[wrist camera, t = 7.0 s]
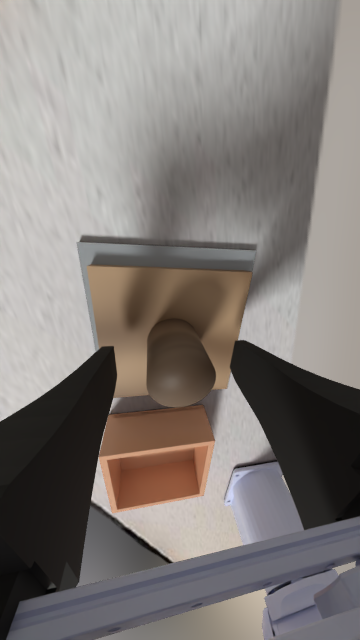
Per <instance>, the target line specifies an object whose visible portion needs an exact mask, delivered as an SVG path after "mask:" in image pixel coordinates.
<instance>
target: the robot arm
mask: <svg viewBox="0 0 360 640" xmlns="http://www.w3.org/2000/svg"><path fill="white" fill-rule="evenodd" d="M230 369H231V372H232V374H233V377H234V379H235V381H236V383H237V385H238V386H239V388H240V390H241V392H242V393H243V395H244V397H245V398H246V400H247V402H248V403H249V405H250V407H251V408H252V410H253V412H254V413H255V415H256V417H257V418H258V420H259V422H260V424H261V426H262V428H263V430H264V432H265V435H266V437H267V439H268V441H269V443H270V445H271V448H272V450H273V452H274V454H275V456H276V459H277V462H272V463H266V464H260V465H254V466H248V467H242V468H237V469H235V470H234V471H233V474H232V477H231V480H230V484H229V487H228V490H227V493H226V497H225V500H224V505H225V506H230V505H231V507H232V511H233V514H234V517H235V520H236V524H237V527H238V530H239V533H240V537H241V540H242V543H243V546H239V547H235V548H231V549H227V550H223V551H219V552H215V553H211V554H207V555H203V556H199V557H195V558H191V559H187V560H183V561H179V562H175V563H171V564H167V565H164V566H159V567H155V568H152V569H147V570H144V571H139V572H136V573H131V574H127V575H124V576H119V577H115V578H112V579H107V580H104V581H99V582H95V583H91V584H87V585H83V586H79V587H76V586H77V584H78V582H79V578H80V570H81V563H82V555H83V549H84V542H85V535H86V528H87V521H88V515H89V509H90V503H91V496H92V490H93V484H94V479H95V473H96V467H97V461H98V456H99V451H100V445H101V441H102V436H103V432H104V429H105V425H106V422H107V418H108V415H109V411H110V408H111V404H112V400H113V397H114V393H115V388H116V381H117V368H116V360H115V352H114V346H102V347H101V348H100V349H99V350H98V351H97V352H95V353H94V354H93V355H92V356H91V357H90V358H89V359H88V360H87V361H86V362H85V363H83V364H82V365H81V366H80V367H79V368H78V369H77V370H75V371H74V372H73V373H72V374H70V375H69V376H68V377H67V378H65V379H64V380H63V381H62V382H61V383H59V384H58V385H57V386H55V387H54V388H52V389H51V390H50V391H48V392H47V393H45V394H44V395H42V396H41V397H40V398H38V399H37V400H35V401H33V402H32V403H30V404H29V405H27V406H25V407H24V408H22V409H20V410H19V411H17V412H16V413H14V414H12V415H11V416H9V417H7V418H6V419H4V420H2V421H1V422H0V640H95V639H98V638H101V637H104V636H108V635H111V634H114V633H118V632H121V631H124V630H127V629H131V628H135V627H138V626H141V625H145V624H148V623H151V622H154V621H158V620H161V619H164V618H168V617H171V616H174V615H178V614H181V613H184V612H188V611H191V610H194V609H198V608H201V607H204V606H208V605H211V604H214V603H218V602H221V601H224V600H228V599H231V598H234V597H238V596H241V595H244V594H247V593H251V592H254V591H258V590H261V589H265V591H266V593H267V596H266V597H265V598H264V599H265V602H266V605H267V608H264V610H263V621H262V629H263V635H264V640H360V390H359V389H356V388H353V387H350V386H347V385H343V384H341V383H338V382H335V381H332V380H329V379H326V378H324V377H321V376H318V375H316V374H313V373H311V372H309V371H306V370H303V369H301V368H299V367H297V366H295V365H293V364H291V363H289V362H286V361H284V360H282V359H280V358H278V357H276V356H275V355H273V354H271V353H269V352H267V351H265V350H263V349H261V348H259V347H257V346H255V345H254V344H252V343H249V342H247V341H245V340H238V341H235V343H234V348H233V353H232V358H231V363H230ZM282 475H284V478H285V480H286V483H287V485H288V488H289V490H290V492H289V490H288V488H287V487H286V485H285V483H284V481H283V479H282V478H281V477H282ZM290 493H291V494H290ZM354 561H356V567H355V568H352V569H350V570H348V571H346V572H343V573H341V574H340V575H339V576H338V574H337V572H336V570H335V569H332V568H334V567H338V566H341V565H344V564H348V563H351V562H354Z"/></svg>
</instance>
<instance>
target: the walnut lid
mask: <svg viewBox="0 0 360 640" xmlns="http://www.w3.org/2000/svg"><path fill="white" fill-rule="evenodd" d="M87 272H88V279H89V285H90V292H91V299H92V305H93V312H94V318H95V325H96V332H97V338H98V345H99V349H100V348H101V347H102V346H114V352H115V360H116V368H117V381H116V388H115V393H114V397H113V398H119V397H131V396H143V395H150V396H151V398H152V399H153V400H154V401H156V402H157V403H159V404H161V405H164V406H167V407H185V406H189V405H192V404H194V403H197V402H198V401H200V400H202V399H203V398H204V397H206V396H207V395H208V394H209V392H210V391H211V390H216V389H227V385H228V381H229V376H230V372H231V369H230V363H231V358H232V353H233V348H234V343H235V341H238V336H239V332H240V327H241V323H242V318H243V314H244V309H245V305H246V300H247V296H248V291H249V287H250V282H251V278H252V273H253V272H250V271H247V270H223V269H197V268H172V267H147V266H122V265H96V264H90V265H88V266H87Z"/></svg>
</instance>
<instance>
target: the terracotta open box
mask: <svg viewBox="0 0 360 640" xmlns="http://www.w3.org/2000/svg"><path fill="white" fill-rule="evenodd" d="M214 443H215V439H214V436H213V433H212V430H211V427H210V424H209V421H208V418H207V415H206V412H205V409H204V406H203V405H197V406H187V407H178V408H168V409H159V410H149V411H139V412H130V413H120V414H111V415H108V420H107V424H106V428H105V433H104V437H103V441H102V446H101V450H100V454H99V460H100V464H101V468H102V473H103V477H104V481H105V485H106V489H107V494H108V498H109V502H110V506H111V510H112V513H116V512H122V511H127V510H132V509H137V508H142V507H147V506H153V505H158V504H163V503H168V502H173V501H179V500H184V499H189V498H194V497H199V496H204V492H205V487H206V482H207V477H208V472H209V467H210V463H211V458H212V453H213V448H214Z"/></svg>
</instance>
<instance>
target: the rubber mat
mask: <svg viewBox="0 0 360 640" xmlns="http://www.w3.org/2000/svg"><path fill="white" fill-rule="evenodd" d="M77 248H78V253H79V259H80V265H81V270H82V276H83V282H84V287H85V293H86V299H87V304H88V310H89V316H90V321H91V327H92V333H93V338H94V344H95V350H96V352H97V351H98V350H99V345H98V338H97V332H96V325H95V318H94V312H93V305H92V299H91V292H90V285H89V279H88V272H87V266H88V265H90V264H96V265H122V266H147V267H172V268H197V269H223V270H247V271H250V272H252V269H253V265H254V260H255V255H256V251H255V250H237V249H216V248H195V247H174V246H153V245H132V244H111V243H90V242H77ZM230 374H231V372H230ZM229 378H230V376H229ZM228 383H229V381H228ZM227 387H228V385H227Z"/></svg>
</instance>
